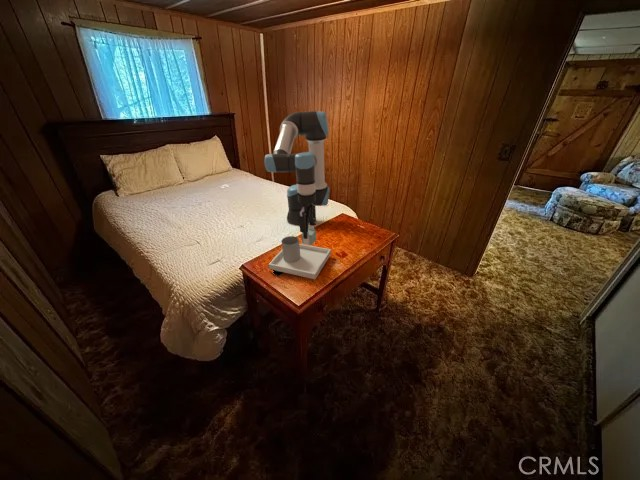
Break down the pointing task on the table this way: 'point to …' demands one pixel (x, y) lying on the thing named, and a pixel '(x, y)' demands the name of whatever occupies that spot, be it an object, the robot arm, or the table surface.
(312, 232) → the block
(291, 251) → the cup
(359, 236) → the table surface
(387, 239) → the table surface
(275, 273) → the smartphone
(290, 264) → the shallow white dish
